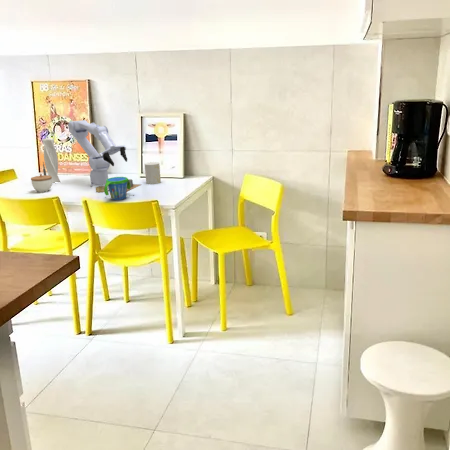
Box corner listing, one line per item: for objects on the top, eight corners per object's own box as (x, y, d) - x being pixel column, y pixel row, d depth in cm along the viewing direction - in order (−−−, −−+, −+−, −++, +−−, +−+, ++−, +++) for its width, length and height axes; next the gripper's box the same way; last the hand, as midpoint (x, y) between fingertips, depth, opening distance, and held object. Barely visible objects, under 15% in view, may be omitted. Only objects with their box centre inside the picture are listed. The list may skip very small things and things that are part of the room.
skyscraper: (57, 180, 297) (50, 133, 289) (63, 182, 292) (57, 134, 284) (44, 182, 291) (36, 135, 283) (50, 184, 286) (43, 136, 278)
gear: (122, 187, 264) (121, 181, 263) (123, 185, 270) (122, 179, 269) (132, 187, 265) (131, 181, 264) (133, 185, 270) (132, 178, 269)
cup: (158, 186, 271) (156, 164, 267) (144, 186, 272) (142, 164, 269) (162, 183, 278) (161, 162, 275) (149, 183, 280) (147, 162, 276)
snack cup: (112, 203, 237) (110, 182, 234) (99, 200, 244) (97, 180, 241) (137, 196, 248) (135, 177, 245) (125, 194, 255) (123, 175, 252)
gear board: (106, 193, 258) (105, 185, 257) (122, 185, 275) (121, 178, 274) (126, 194, 255) (126, 186, 254) (142, 186, 271) (141, 179, 270)
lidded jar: (57, 189, 273) (55, 172, 270) (44, 193, 264) (42, 176, 261) (41, 188, 277) (39, 172, 274) (28, 192, 267) (26, 175, 264)
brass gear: (94, 194, 257) (93, 188, 256) (99, 192, 262) (99, 185, 261) (103, 194, 255) (102, 188, 254) (108, 192, 260) (108, 186, 259)
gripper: (95, 143, 256) (107, 162, 252) (121, 135, 263) (133, 153, 258) (95, 151, 262) (107, 170, 258) (120, 143, 269) (131, 162, 264)
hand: (120, 162), depth 258 cm, fingers open, 7 cm apart
